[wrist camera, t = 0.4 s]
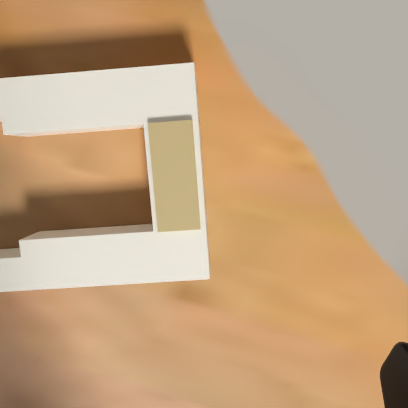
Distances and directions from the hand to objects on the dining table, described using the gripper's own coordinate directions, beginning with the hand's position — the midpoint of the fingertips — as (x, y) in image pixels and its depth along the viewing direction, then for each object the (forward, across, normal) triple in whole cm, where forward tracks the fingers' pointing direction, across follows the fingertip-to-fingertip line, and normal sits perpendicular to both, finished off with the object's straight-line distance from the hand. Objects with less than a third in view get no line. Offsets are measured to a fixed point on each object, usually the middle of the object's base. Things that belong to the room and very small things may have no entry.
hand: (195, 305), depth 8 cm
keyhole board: (+14, +11, +6) cm, 19 cm away
